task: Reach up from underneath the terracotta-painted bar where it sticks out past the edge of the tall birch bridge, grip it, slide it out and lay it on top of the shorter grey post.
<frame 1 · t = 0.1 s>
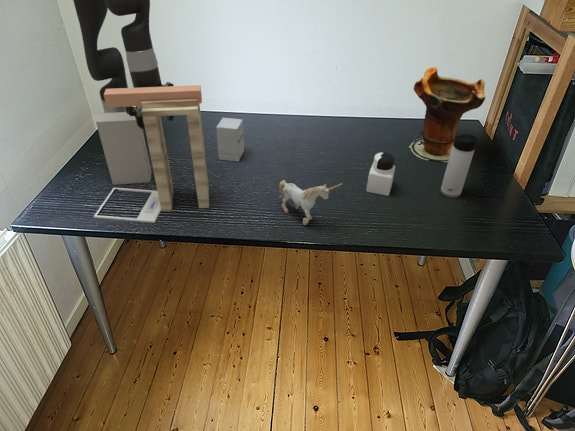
hand: (156, 124, 131), 22 cm above the table, tool pointing down, fingers open, 8 cm apart
unicorn figurine: (307, 213, 137), on the table
supplement box: (231, 156, 161), on the table
post: (132, 178, 149), on the table
bridge: (185, 199, 141), on the table
decorative vase: (434, 150, 167), on the table
bar: (155, 102, 120), point 32 cm above the table, touching bridge
medicine bottle: (379, 188, 147), on the table
photo frame: (133, 206, 139), on the table
travel mug: (450, 193, 146), on the table
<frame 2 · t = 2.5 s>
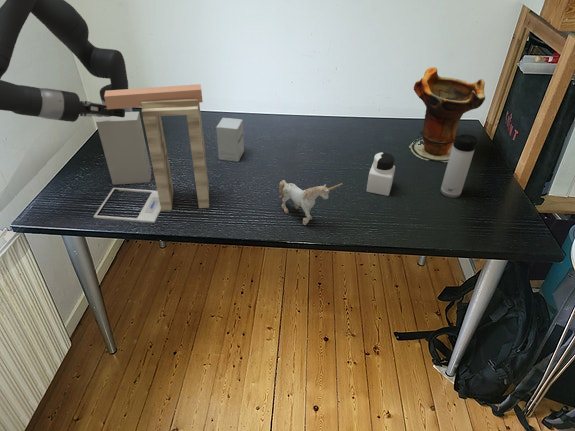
hand: (116, 113, 129), 26 cm above the table, tool tilted 65°, fingers open, 8 cm apart
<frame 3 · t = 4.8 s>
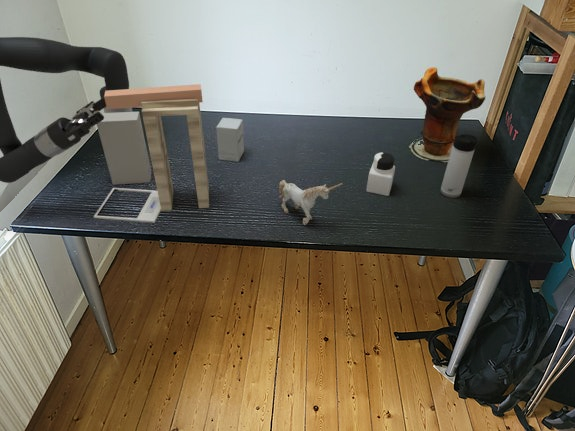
hand: (104, 107, 119), 31 cm above the table, tool pointing upward, fingers open, 8 cm apart
nothing on the table moved.
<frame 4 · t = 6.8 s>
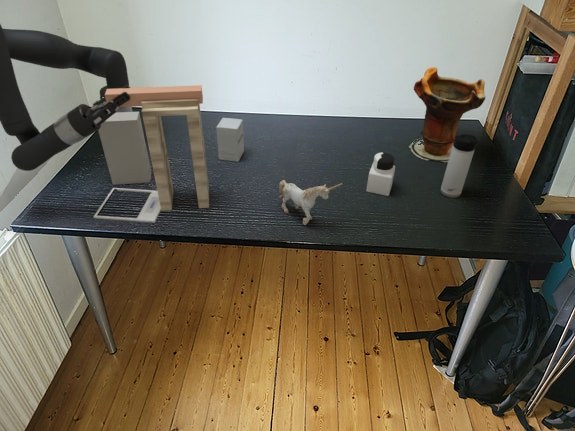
hand: (128, 91, 117), 35 cm above the table, tool pointing upward, fingers closed on bar, 3 cm apart
bar: (156, 102, 120), point 32 cm above the table, touching bridge, gripper
everything else where it was.
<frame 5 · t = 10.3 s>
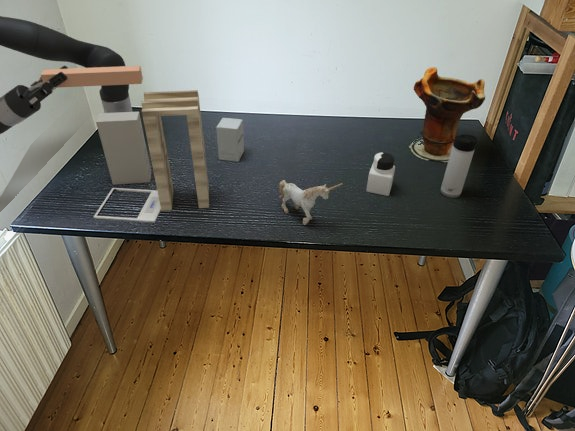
hand: (66, 72, 117), 39 cm above the table, tool pointing upward, fingers closed on bar, 3 cm apart
bar: (95, 83, 120), point 36 cm above the table, touching gripper
everything else where it was.
when the fingers open (26 cm above the table, at t = 13.7 s): bar stays where it is, resting on post.
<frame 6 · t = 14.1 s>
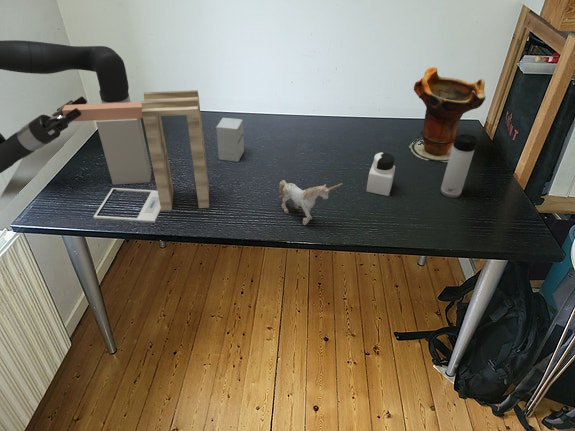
hand: (81, 105, 132), 26 cm above the table, tool pointing upward, fingers open, 7 cm apart
bar: (109, 116, 135), point 22 cm above the table, touching post
everything else where it was.
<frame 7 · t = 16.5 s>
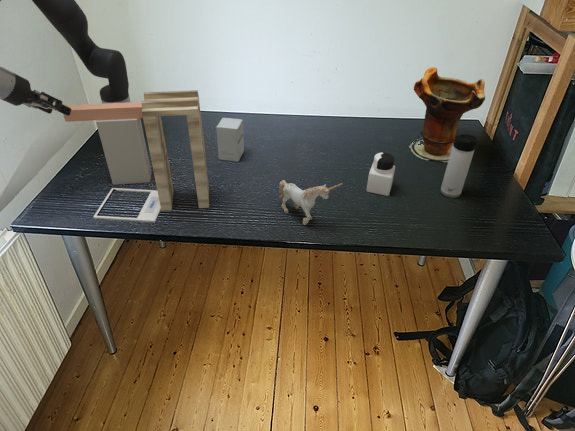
hand: (60, 111, 131), 25 cm above the table, tool tilted 45°, fingers open, 8 cm apart
nothing on the table moved.
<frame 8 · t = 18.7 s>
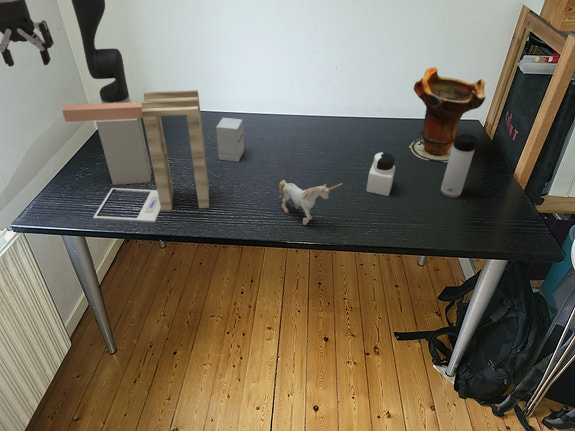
hand: (29, 64, 118), 40 cm above the table, tool pointing down, fingers open, 8 cm apart
nothing on the table moved.
at the end: bar inside the target area on the post (2.3 cm from its centre), point 22.0 cm above the post's base; the gripper is holding nothing; bar moved 23.0 cm from its start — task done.
